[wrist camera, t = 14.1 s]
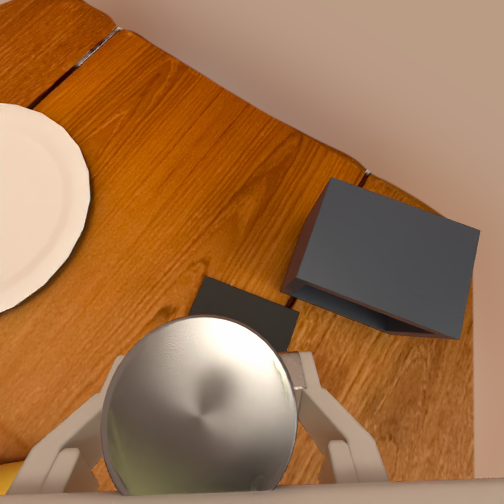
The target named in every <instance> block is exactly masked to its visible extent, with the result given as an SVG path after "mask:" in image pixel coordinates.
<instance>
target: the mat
mask: <svg viewBox="0 0 504 504" xmlns="http://www.w3.org/2000/svg"><path fill="white" fill-rule="evenodd" d="M198 314H211V315H219V316H225V317H228V318H231V319H234V320H237V321H239V322H242V323H244V324H246V325H248V326H249V327H251V328H252V329H254V330H255V331H257V332H258V333H259V334H261V335H262V336H263V337H264V338H265V339H266V340H267V341H268V342H269V343H270V344H271V345H272V346H273V347H274V348H275V350H276V351H277V352H286V351H287V348H288V345H289V343H290V340H291V337H292V334H293V331H294V328H295V325H296V322H297V319H298V316H299V312H297V311H294V310H292V309H289V308H286V307H284V306H281V305H279V304H276V303H274V302H271V301H269V300H266V299H263V298H261V297H258V296H256V295H253V294H251V293H248V292H246V291H243V290H240V289H238V288H235V287H233V286H230V285H228V284H225V283H222V282H220V281H217V280H215V279H212V278H210V277H207V276H205V278H204V280H203V283H202V285H201V287H200V290H199V292H198V294H197V297H196V299H195V301H194V304H193V306H192V308H191V310H190V313H189V315H198ZM189 315H188V316H189Z"/></svg>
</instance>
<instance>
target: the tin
mask: <svg viewBox="0 0 504 504" xmlns="http://www.w3.org/2000/svg"><path fill="white" fill-rule="evenodd" d="M297 426H298V409H297V400H296V394H295V390H294V386H293V382H292V380H291V377H290V374H289V372H288V370H287V368H286V366H285V364H284V362H283V360H282V358H281V357H280V355H279V354H278V353H277V351H276V350H275V348H274V347H273V346H272V345H271V344H270V343H269V342H268V341H267V340H266V339H265V338H264V337H263V336H262V335H261V334H259V333H258V332H257V331H255V330H254V329H252V328H251V327H249V326H248V325H246V324H244V323H242V322H239V321H237V320H234V319H231V318H228V317H225V316H219V315H211V314H198V315H189V316H185V317H180V318H177V319H174V320H171V321H169V322H166V323H164V324H162V325H161V326H159V327H157V328H155V329H154V330H152V331H151V332H149V333H148V334H146V335H145V336H144V337H143V338H142V339H140V340H139V341H138V342H137V343H136V344H135V345H134V346H133V347H132V348H131V349H130V351H129V352H128V353H127V354H126V355H125V357H124V358H123V360H122V361H121V362H120V364H119V365H118V367H117V369H116V371H115V373H114V375H113V376H112V379H111V381H110V384H109V386H108V389H107V392H106V395H105V399H104V403H103V408H102V415H101V431H100V434H101V445H102V451H103V456H104V461H105V464H106V467H107V469H108V472H109V475H110V477H111V479H112V481H113V483H114V485H115V487H116V489H117V490H118V491H119V493H120V494H121V495H122V496H143V495H171V494H199V493H227V492H255V491H272V490H274V489H275V488H276V486H277V485H278V483H279V482H280V480H281V478H282V476H283V475H284V473H285V471H286V469H287V467H288V464H289V461H290V459H291V456H292V453H293V449H294V445H295V441H296V435H297Z"/></svg>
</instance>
